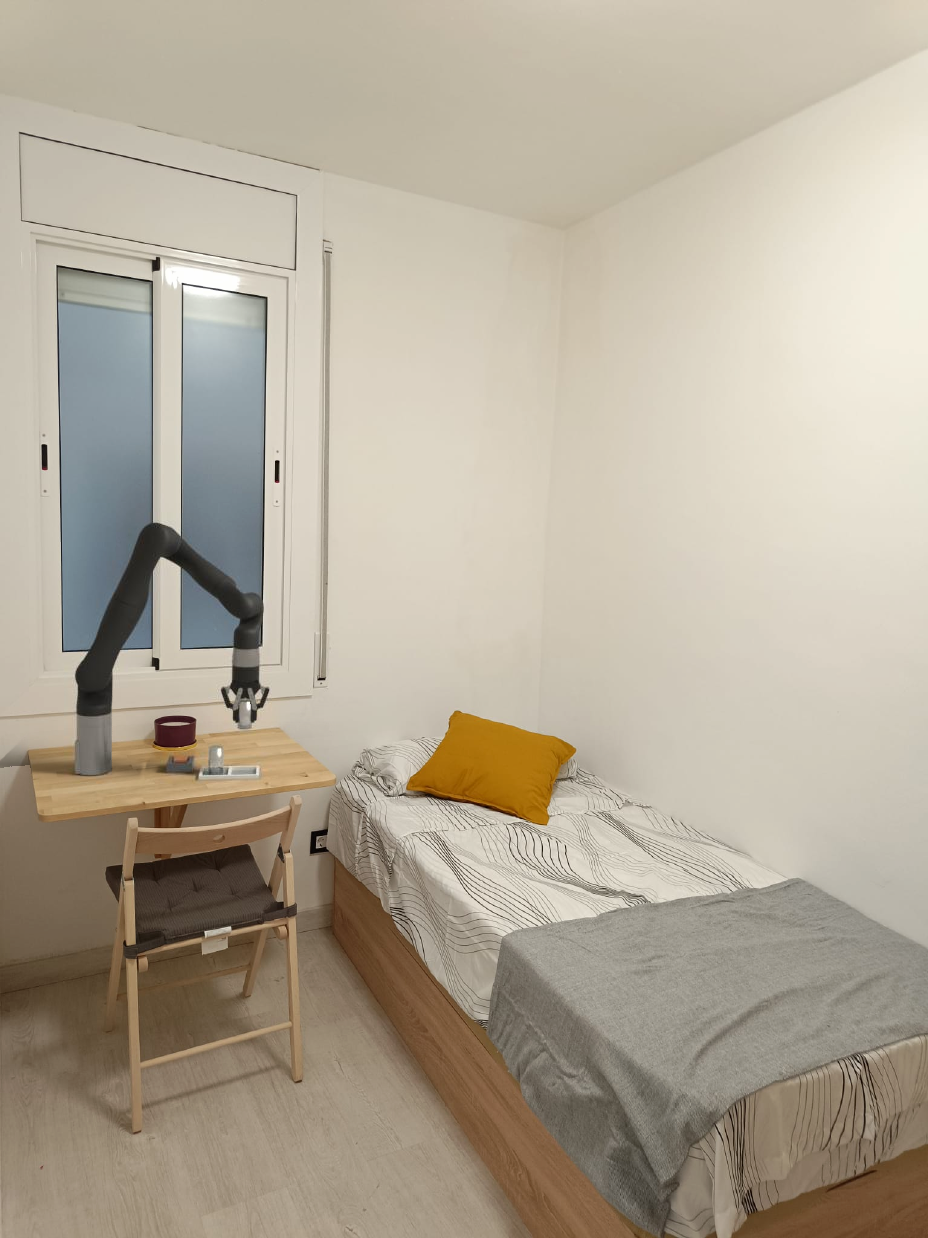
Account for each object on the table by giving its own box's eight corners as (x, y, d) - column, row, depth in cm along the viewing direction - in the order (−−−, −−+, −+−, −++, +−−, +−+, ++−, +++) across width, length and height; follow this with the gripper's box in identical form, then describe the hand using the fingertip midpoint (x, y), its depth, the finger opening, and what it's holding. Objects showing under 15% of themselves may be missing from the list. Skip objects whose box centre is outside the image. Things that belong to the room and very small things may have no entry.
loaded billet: (207, 777, 237) (208, 749, 236) (208, 772, 241) (209, 745, 240) (222, 776, 238) (222, 749, 237) (223, 772, 242) (223, 745, 241)
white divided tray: (196, 784, 234) (196, 777, 234) (199, 773, 243) (199, 766, 243) (260, 783, 238) (260, 775, 237) (260, 772, 247) (261, 765, 247)
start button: (173, 768, 240) (173, 760, 240) (174, 764, 244) (174, 756, 243) (186, 768, 241) (186, 759, 241) (187, 764, 244) (187, 756, 244)
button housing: (166, 777, 238) (166, 763, 238) (169, 769, 245) (169, 756, 245) (192, 776, 240) (192, 763, 239) (194, 769, 247) (194, 756, 246)
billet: (237, 725, 241) (238, 698, 240) (252, 725, 242) (252, 698, 241) (237, 729, 237) (237, 702, 236) (251, 729, 238) (252, 702, 237)
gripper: (271, 661, 242) (270, 718, 244) (220, 660, 239) (219, 719, 241) (271, 666, 235) (270, 725, 237) (219, 665, 232) (218, 726, 234)
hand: (244, 722), depth 239 cm, fingers closed on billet, 4 cm apart
